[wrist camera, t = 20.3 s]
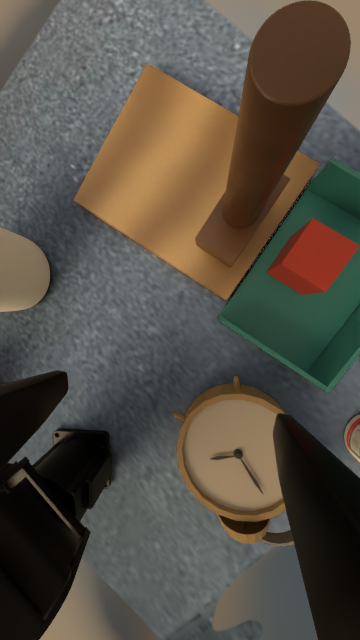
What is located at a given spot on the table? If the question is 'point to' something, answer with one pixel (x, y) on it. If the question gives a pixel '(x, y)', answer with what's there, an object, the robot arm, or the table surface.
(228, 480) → the alarm clock
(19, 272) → the mug
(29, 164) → the table surface
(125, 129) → the board
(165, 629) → the table surface
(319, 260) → the block
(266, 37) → the brush
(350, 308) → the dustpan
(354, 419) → the pill bottle
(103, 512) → the table surface
